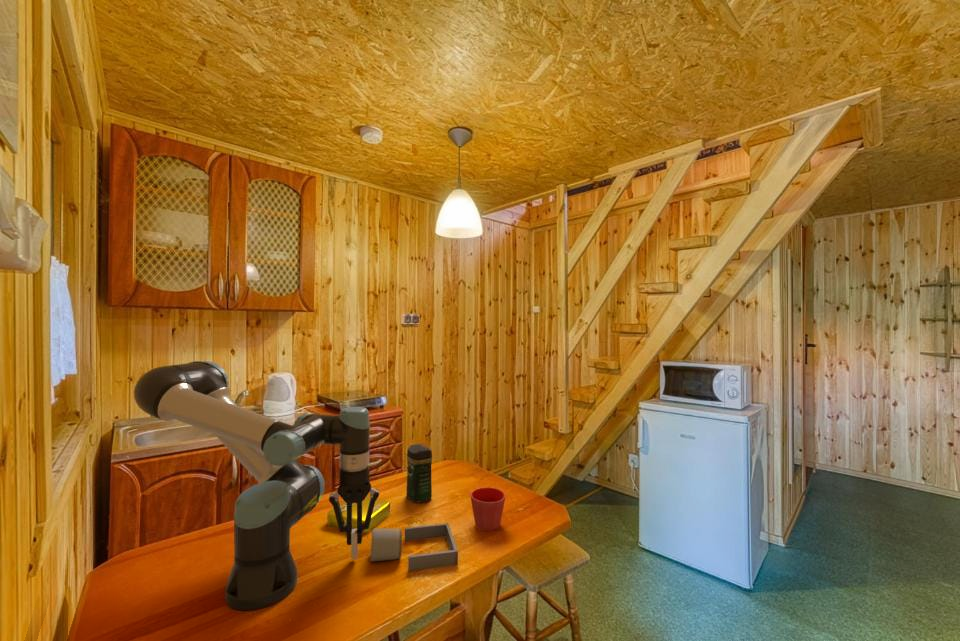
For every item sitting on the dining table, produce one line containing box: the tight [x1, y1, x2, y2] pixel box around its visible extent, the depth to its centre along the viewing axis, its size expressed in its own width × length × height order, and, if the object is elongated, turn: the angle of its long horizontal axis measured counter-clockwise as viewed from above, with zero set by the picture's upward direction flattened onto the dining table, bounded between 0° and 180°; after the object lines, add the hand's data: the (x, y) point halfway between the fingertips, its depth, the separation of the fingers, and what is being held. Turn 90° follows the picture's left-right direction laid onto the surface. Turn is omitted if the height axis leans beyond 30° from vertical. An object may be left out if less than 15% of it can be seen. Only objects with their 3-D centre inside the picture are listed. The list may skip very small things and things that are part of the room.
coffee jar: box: [406, 443, 433, 503], centre depth 147 cm, size 10×8×19 cm
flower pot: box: [470, 486, 506, 532], centre depth 129 cm, size 11×11×10 cm
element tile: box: [326, 496, 391, 535], centre depth 132 cm, size 15×15×5 cm
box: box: [404, 522, 459, 572], centre depth 114 cm, size 13×15×4 cm
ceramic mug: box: [370, 528, 403, 562], centre depth 112 cm, size 11×8×8 cm
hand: (354, 555), depth 109 cm, fingers closed
